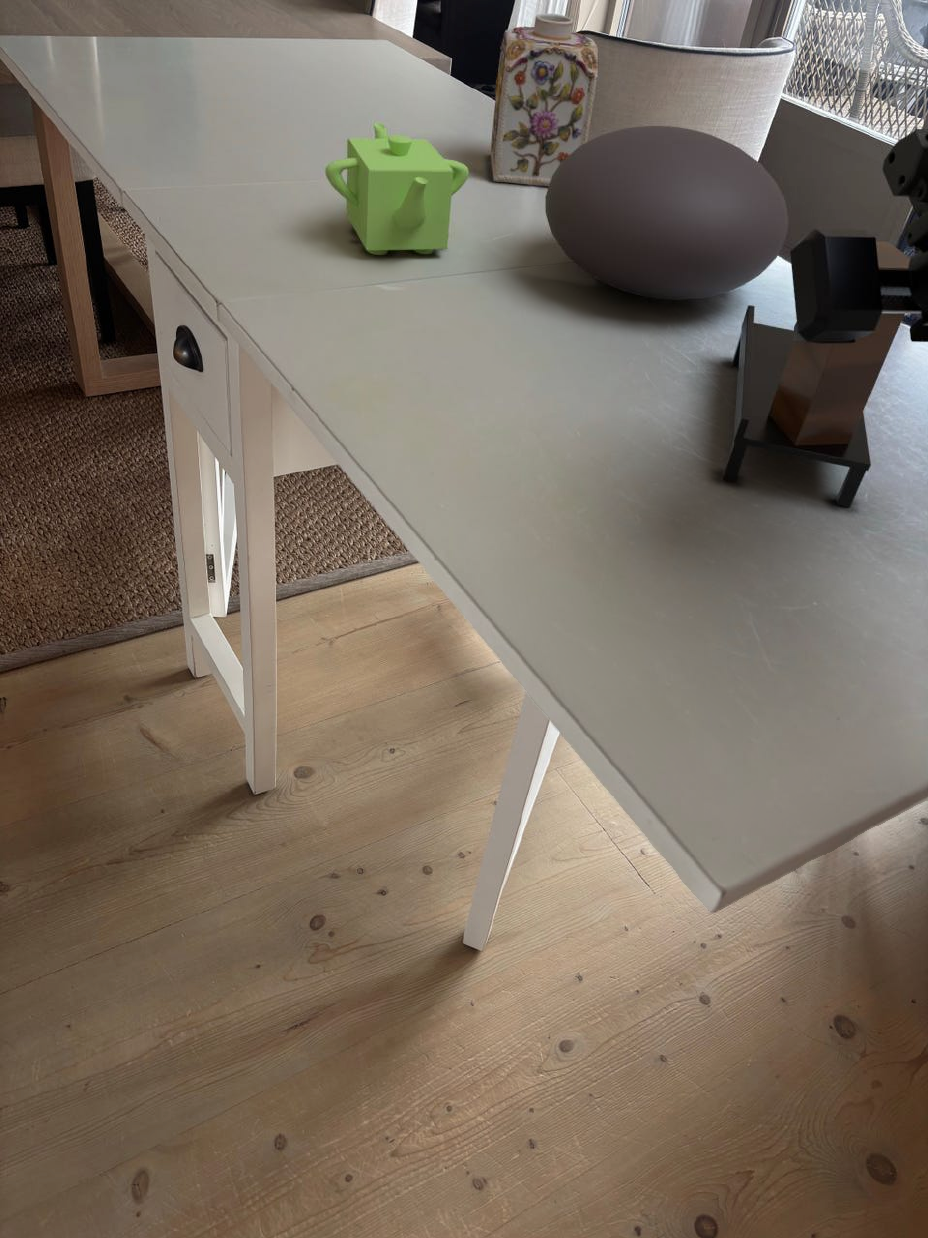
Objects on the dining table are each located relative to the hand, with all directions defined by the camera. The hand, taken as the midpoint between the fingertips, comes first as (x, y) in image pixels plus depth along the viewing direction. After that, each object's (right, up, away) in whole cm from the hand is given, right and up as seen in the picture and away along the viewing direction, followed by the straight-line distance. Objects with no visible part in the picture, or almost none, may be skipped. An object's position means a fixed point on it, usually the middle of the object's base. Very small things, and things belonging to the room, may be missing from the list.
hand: (855, 334), depth 66 cm
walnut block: (-1, -5, +6) cm, 8 cm away
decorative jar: (-18, +40, +61) cm, 75 cm away
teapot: (-35, +21, +38) cm, 56 cm away
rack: (0, -3, +14) cm, 15 cm away
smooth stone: (-8, +16, +36) cm, 40 cm away
